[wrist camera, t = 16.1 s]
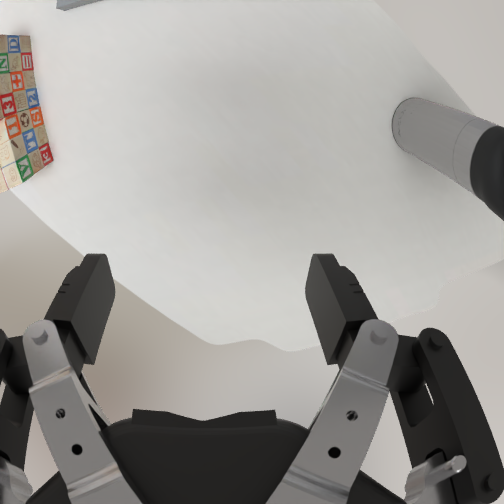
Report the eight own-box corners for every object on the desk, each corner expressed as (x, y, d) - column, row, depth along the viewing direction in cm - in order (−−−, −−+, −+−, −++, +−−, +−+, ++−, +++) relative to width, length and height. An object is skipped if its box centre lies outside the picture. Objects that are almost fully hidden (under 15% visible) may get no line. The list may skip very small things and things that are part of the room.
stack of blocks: (55, 160, 34) (10, 194, 24) (27, 171, 34) (-17, 207, 24) (30, 34, 22) (-23, 34, 12) (2, 53, 22) (-51, 61, 12)
